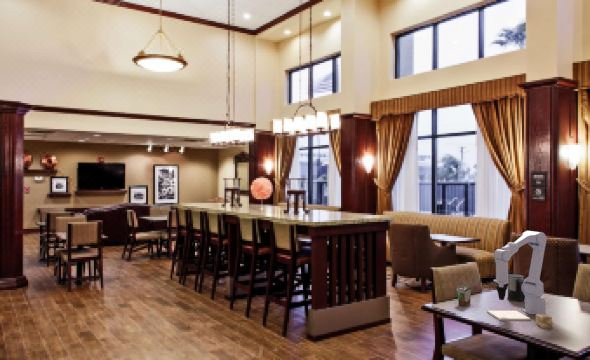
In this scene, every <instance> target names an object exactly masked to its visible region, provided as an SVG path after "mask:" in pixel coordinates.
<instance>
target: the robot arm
mask: <svg viewBox="0 0 590 360" xmlns="http://www.w3.org/2000/svg"><path fill="white" fill-rule="evenodd" d="M547 239H548V238H547V235H546V234H545V233H544V232H542V231H540V232H539V231H533V230H526V231H524V232H522V234H521V236H520V237H519V238H518V239H517V240H515V241H514V242H512V241H511V242H510V241H509V242H507V244H506V245H505V246H502V247H501V248H498V249H496V250H495V251H494V252H493V254H492V257H493V259H494V263H495V279H493V282H495V283H496V285H495V289H496V291H497V296H498V300H499V301H505V297H506V294H507V293H506V292H507V291H508V285H509V281H508V274H509V261H510V260H511V258H512V256H513V255H515V254H516V253H517V252H518V251H519V248H521V247H522V246H525V245H526V244H528V245H529V246H530V247H531V248H532V255H531V260H530V266H529V271H528V276H527V277H526V278H523V281H524V282H523V284H522V286H521V290H522V292H523V293H524V295H525V300H524V309H523V308H521V311H523V312H525V313H526V314H528V315H536V314H546V315H547V312H546V311H547V309H546V308H547V306H546V305H547V304H546V302H547V301H546V299H545V297H544V296H543V295H544V293H545V290H544V283H543V282H542V281H541V279H540V278H541V272H542V269H543V268H542V267H543V261H544V256H545V251H546V250H545V249H546V245H547Z"/></svg>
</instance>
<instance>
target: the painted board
mask: <svg viewBox="0 0 590 360" xmlns="http://www.w3.org/2000/svg"><path fill="white" fill-rule="evenodd" d="M486 313H487V314H489V315H491V316H492V317H494V318H495V319H497V320H499V321H502V322H503V321H506V322H507V321H508V322H509V321H513V322H515V321H517V322H519V321H522V322H523V321H531V320H532V319H531V317H529V316H527V315H525V314H524V313H521V312H519V311H518V310H486Z"/></svg>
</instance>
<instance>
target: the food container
mask: <svg viewBox="0 0 590 360" xmlns="http://www.w3.org/2000/svg"><path fill="white" fill-rule="evenodd" d="M456 292H457V301H458V302H457V303H458V306H460V307H463V308H466V307H468V306H469V305H471V293H472V286H470V285H458V286H457V288H456Z"/></svg>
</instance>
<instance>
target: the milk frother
mask: <svg viewBox="0 0 590 360" xmlns="http://www.w3.org/2000/svg"><path fill="white" fill-rule="evenodd" d="M524 277H525V275H522V274H517V273H515V274H514V273H513V274H511V273H510V274H509V273H508V281H509V285H508V286H507V287H508V288H507V298H506V299H507V300H508V301H511V302H522V303H523V302H525V295H524V293H523V292H522V290H521V286H522V284H523V282H524Z"/></svg>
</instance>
